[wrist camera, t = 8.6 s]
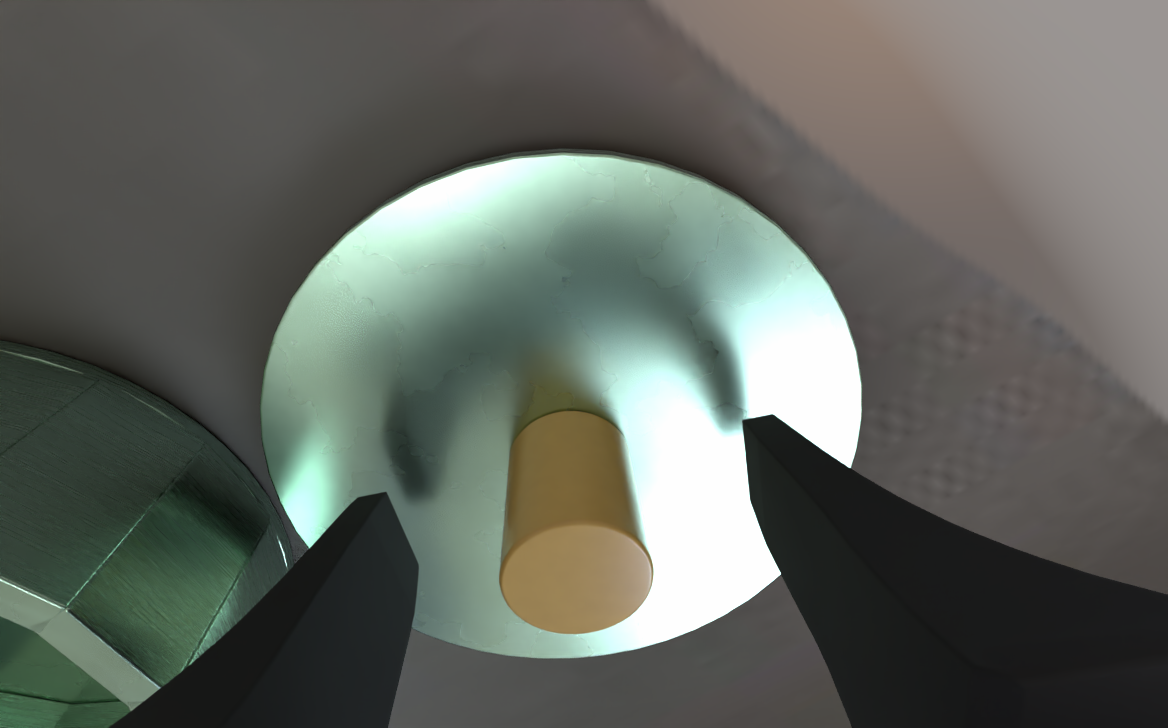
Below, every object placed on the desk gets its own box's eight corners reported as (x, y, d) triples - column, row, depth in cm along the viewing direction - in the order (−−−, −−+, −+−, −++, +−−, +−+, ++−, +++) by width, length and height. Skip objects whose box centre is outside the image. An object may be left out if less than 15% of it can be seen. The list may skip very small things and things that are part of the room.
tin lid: (945, 417, 15) (1094, 556, 11) (573, 686, 18) (582, 864, 14) (557, -26, 10) (566, -71, 6) (166, 448, 14) (14, 610, 10)
